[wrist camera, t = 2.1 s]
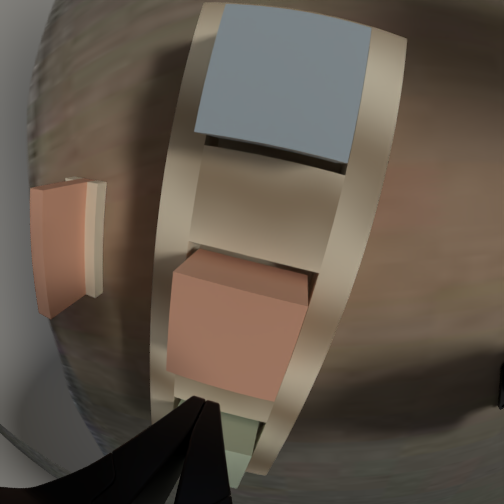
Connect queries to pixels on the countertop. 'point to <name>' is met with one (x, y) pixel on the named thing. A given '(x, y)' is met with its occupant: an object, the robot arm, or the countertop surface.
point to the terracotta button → (234, 322)
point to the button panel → (270, 225)
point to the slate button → (285, 81)
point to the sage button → (237, 444)
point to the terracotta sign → (67, 242)
